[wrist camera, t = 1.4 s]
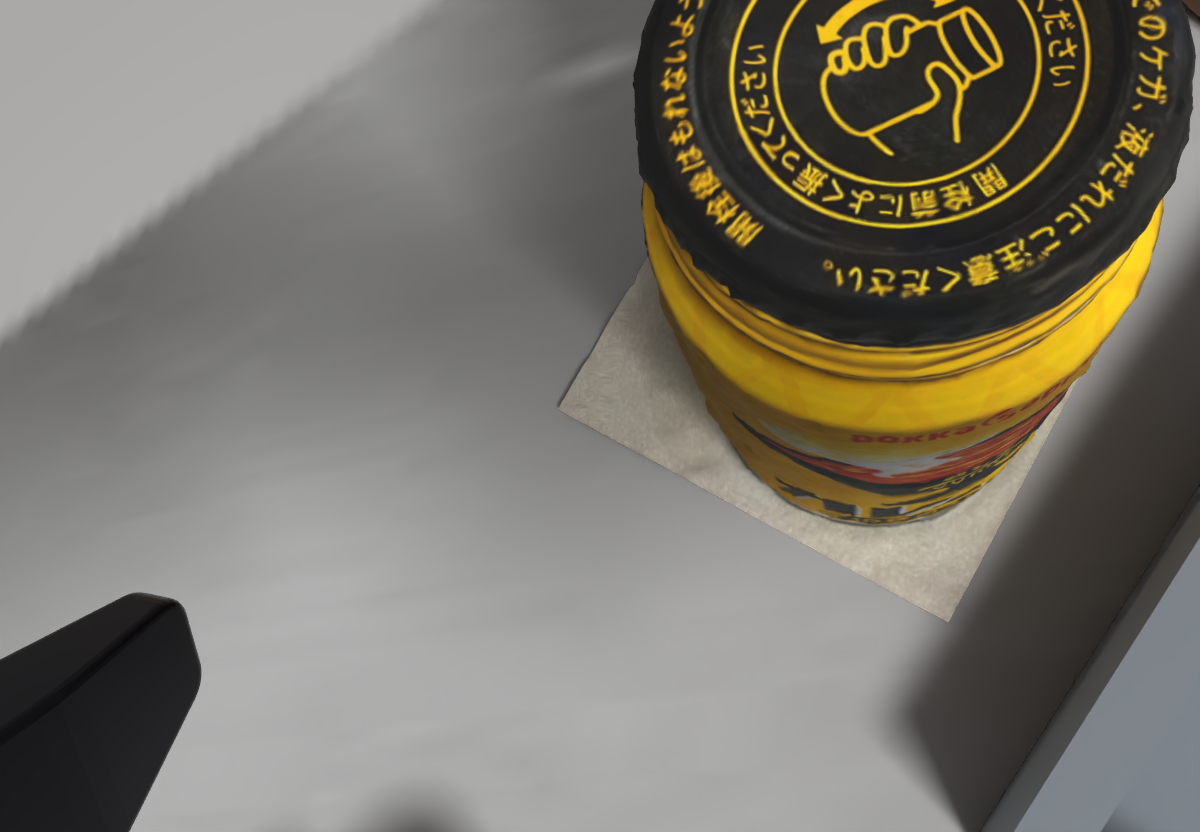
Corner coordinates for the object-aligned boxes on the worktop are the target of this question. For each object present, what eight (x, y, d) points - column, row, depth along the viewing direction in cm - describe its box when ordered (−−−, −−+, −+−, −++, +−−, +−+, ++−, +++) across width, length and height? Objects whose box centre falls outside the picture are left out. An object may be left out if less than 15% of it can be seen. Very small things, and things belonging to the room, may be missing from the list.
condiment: (947, 623, 21) (1082, 555, 9) (559, 411, 23) (282, 148, 12) (1129, 281, 21) (1466, -176, 10) (734, 110, 24) (636, -419, 12)
